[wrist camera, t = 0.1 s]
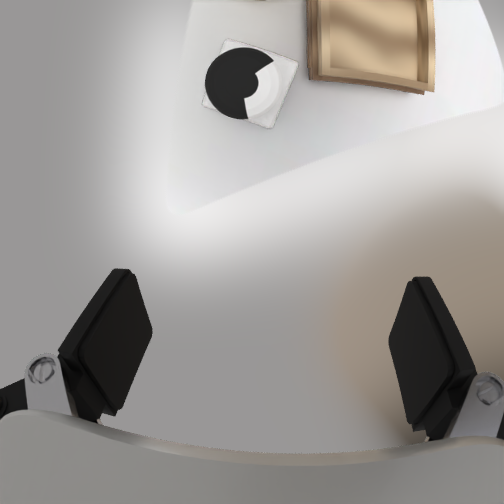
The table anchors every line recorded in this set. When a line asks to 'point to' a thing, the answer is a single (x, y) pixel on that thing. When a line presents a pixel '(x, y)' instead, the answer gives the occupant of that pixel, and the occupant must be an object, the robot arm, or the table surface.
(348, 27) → the top crate
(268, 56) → the container
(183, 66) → the table surface
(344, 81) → the base crate
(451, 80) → the table surface
